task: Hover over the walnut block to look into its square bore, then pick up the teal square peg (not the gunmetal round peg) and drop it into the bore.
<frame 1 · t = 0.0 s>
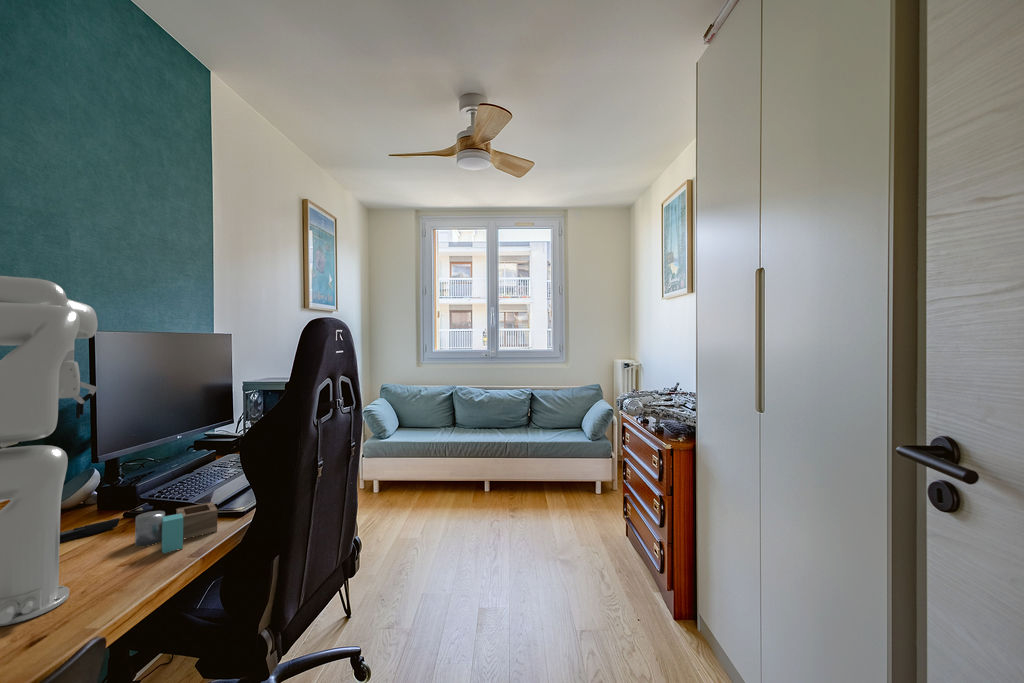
hand: (53, 419, 120), 31 cm above the table, tool pointing down, fingers open, 9 cm apart
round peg: (150, 541, 116), on the table
electric trimmer: (79, 538, 118), on the table
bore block: (196, 531, 122), on the table
square peg: (172, 548, 112), on the table
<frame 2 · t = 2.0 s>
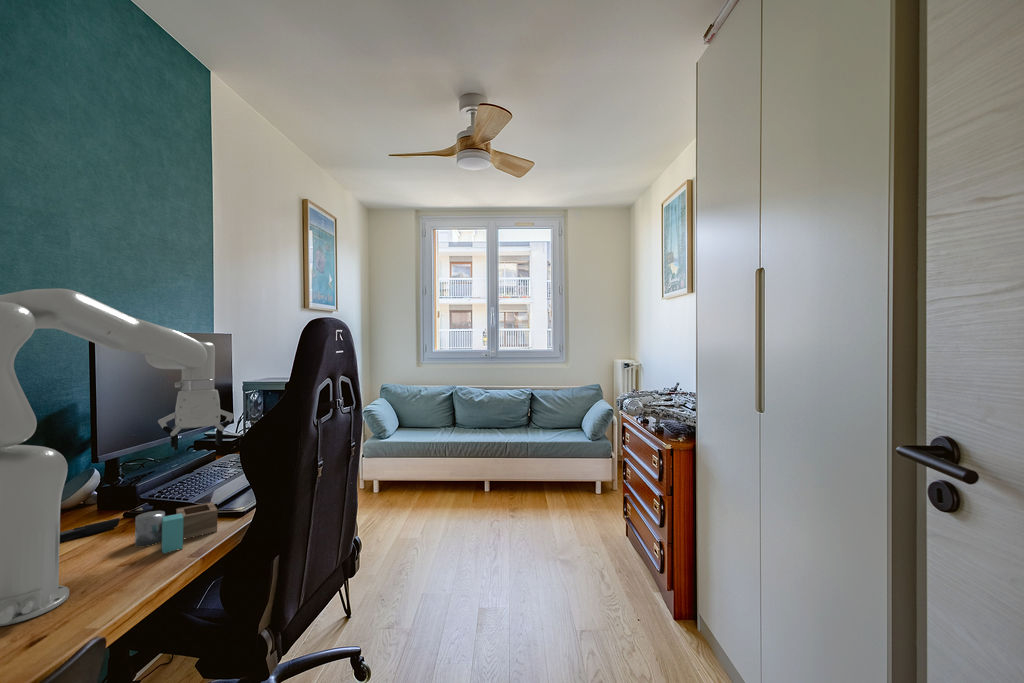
hand: (197, 447, 123), 23 cm above the table, tool pointing down, fingers open, 9 cm apart
nothing on the table moved.
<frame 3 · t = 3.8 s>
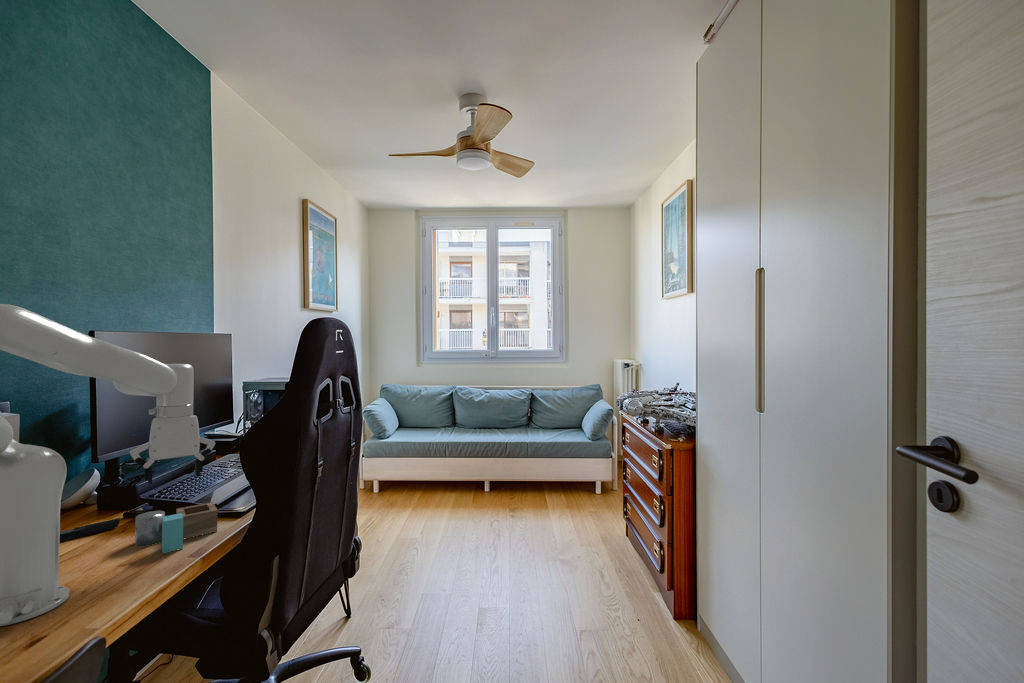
hand: (174, 478, 112), 18 cm above the table, tool pointing down, fingers open, 9 cm apart
nothing on the table moved.
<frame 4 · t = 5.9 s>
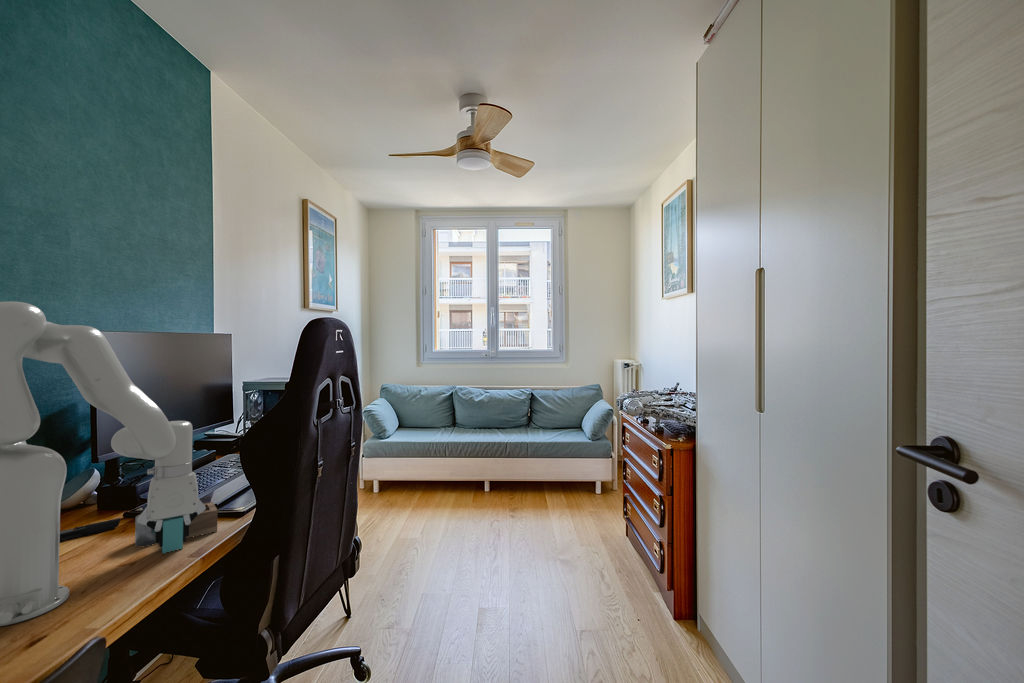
hand: (172, 541, 112), 2 cm above the table, tool pointing down, fingers closed on square peg, 4 cm apart
square peg: (172, 548, 112), on the table, touching gripper
everything else where it was.
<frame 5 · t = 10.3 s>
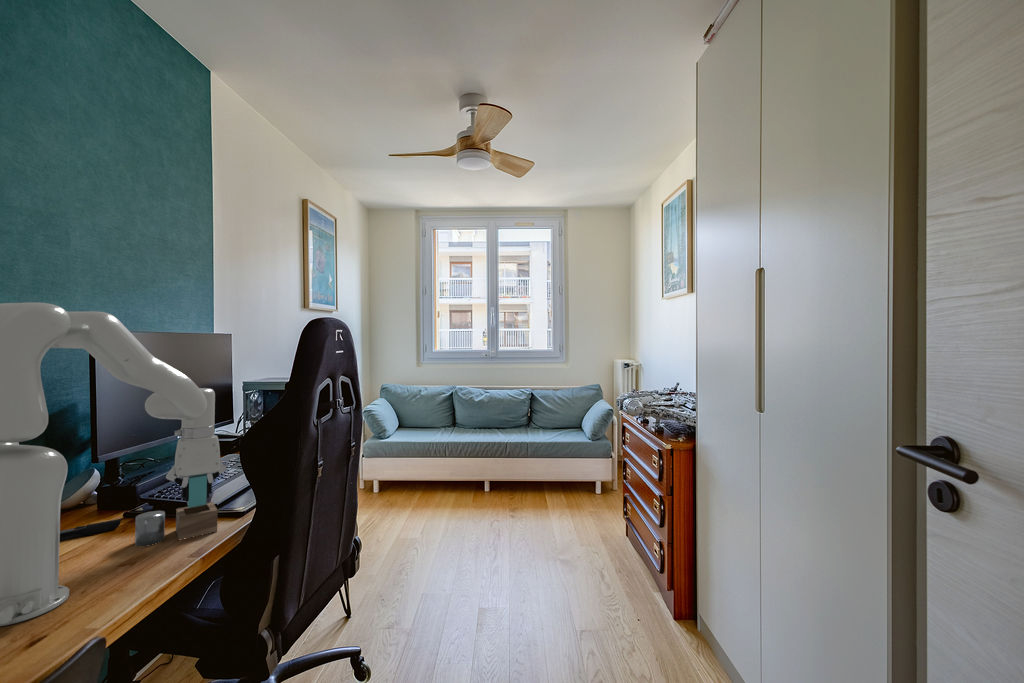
hand: (196, 497, 122), 9 cm above the table, tool pointing down, fingers closed on square peg, 4 cm apart
square peg: (196, 504, 122), point 7 cm above the table, touching gripper
when the fingers open (9 cm above the table, at t = 10.6 s): square peg drops 6 cm, resting on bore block.
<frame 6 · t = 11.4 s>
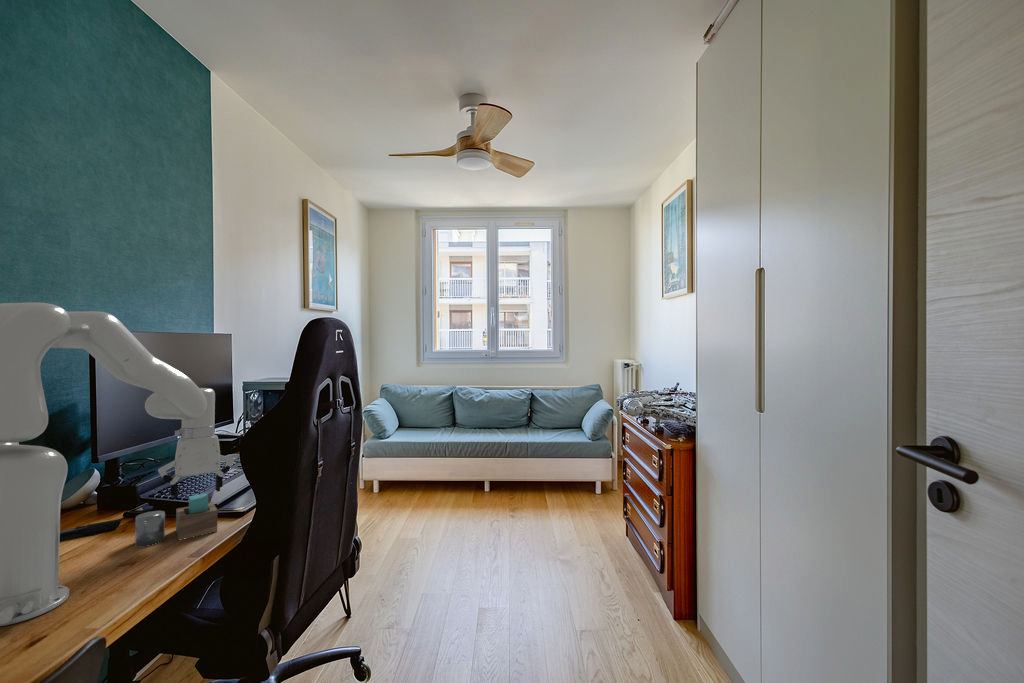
hand: (197, 493, 122), 10 cm above the table, tool pointing down, fingers open, 9 cm apart
square peg: (198, 525, 123), point 1 cm above the table, touching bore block
everything else where it was.
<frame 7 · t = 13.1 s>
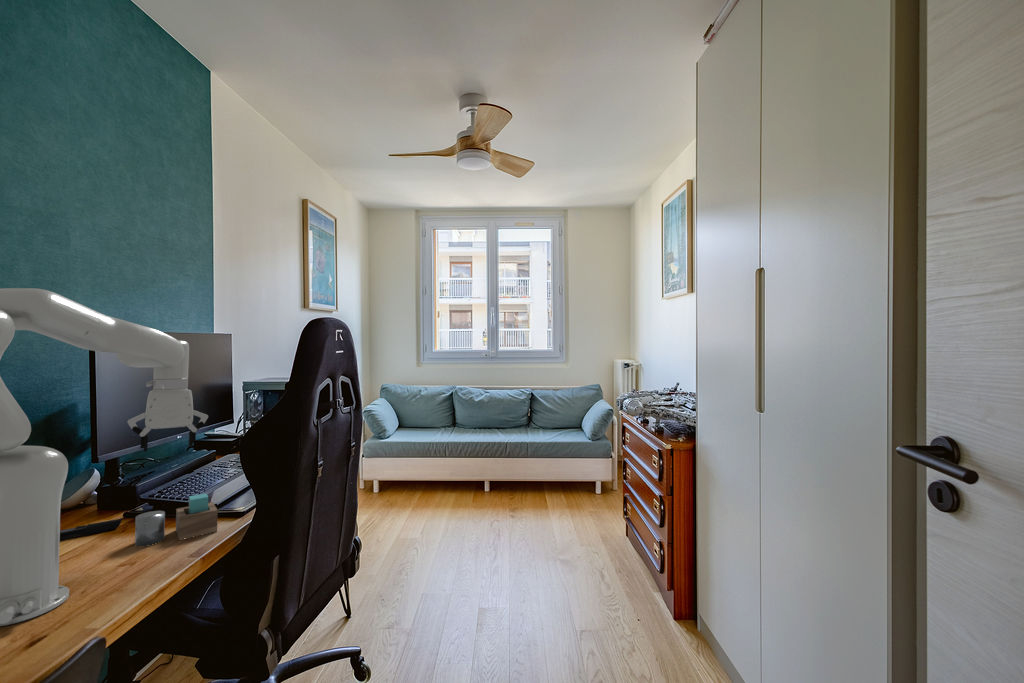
hand: (168, 448, 119), 24 cm above the table, tool pointing down, fingers open, 9 cm apart
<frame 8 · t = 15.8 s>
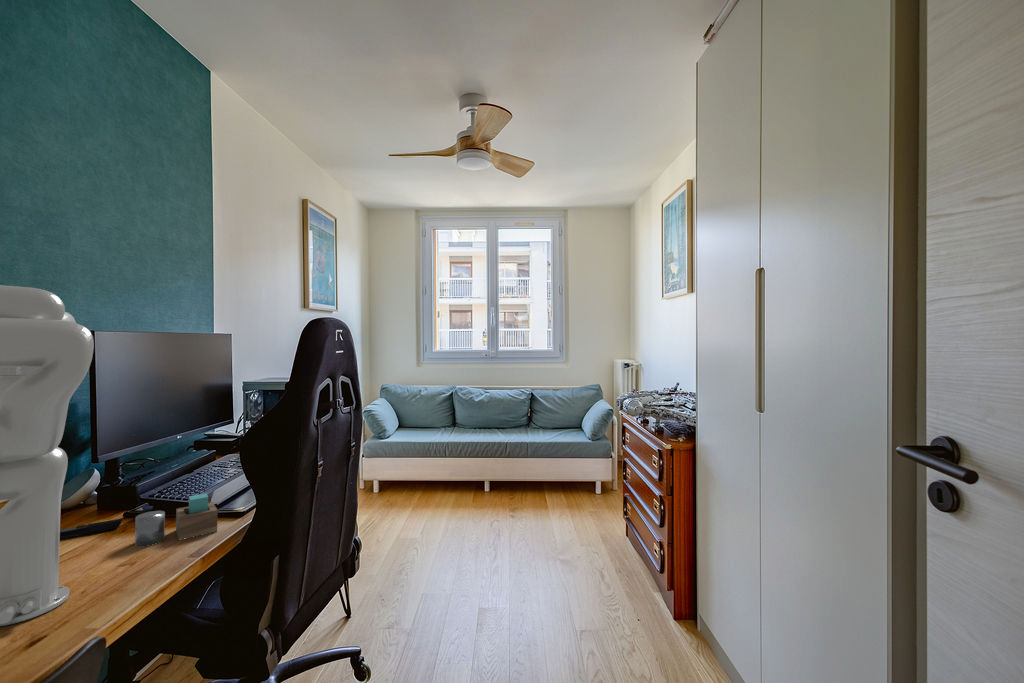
hand: (14, 443, 104), 28 cm above the table, tool pointing down, fingers open, 9 cm apart
at the end: square peg 0.4 cm off-centre on the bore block, point 1.5 cm above the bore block's base; square peg tilted 0°; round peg moved 0.1 cm from its start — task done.
